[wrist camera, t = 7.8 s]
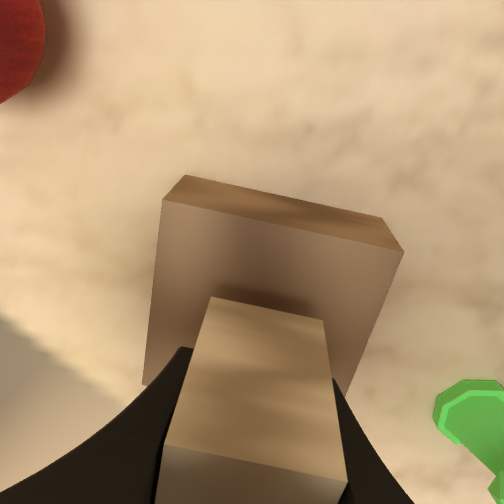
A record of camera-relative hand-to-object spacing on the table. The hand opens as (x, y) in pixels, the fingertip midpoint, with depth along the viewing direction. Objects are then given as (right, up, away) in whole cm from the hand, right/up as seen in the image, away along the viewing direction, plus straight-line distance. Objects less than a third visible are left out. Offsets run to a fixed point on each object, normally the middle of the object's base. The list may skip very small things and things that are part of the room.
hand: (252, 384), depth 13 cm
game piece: (+12, -4, +9) cm, 16 cm away
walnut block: (0, +3, +7) cm, 7 cm away
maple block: (0, +1, +1) cm, 2 cm away
